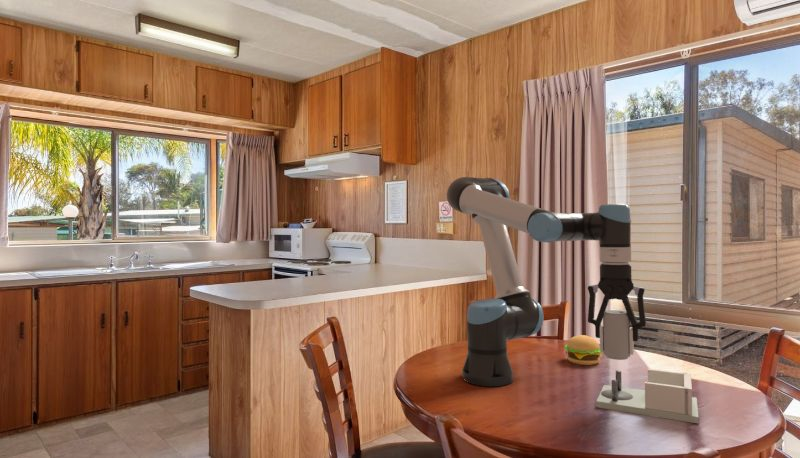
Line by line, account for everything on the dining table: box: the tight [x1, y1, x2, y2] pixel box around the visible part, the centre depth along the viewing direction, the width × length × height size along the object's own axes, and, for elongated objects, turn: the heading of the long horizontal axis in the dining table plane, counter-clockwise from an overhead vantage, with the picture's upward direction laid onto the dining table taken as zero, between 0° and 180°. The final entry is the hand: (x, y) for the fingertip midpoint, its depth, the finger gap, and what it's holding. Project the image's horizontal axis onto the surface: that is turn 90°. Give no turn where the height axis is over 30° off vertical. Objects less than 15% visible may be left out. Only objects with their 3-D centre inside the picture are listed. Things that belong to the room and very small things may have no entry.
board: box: [595, 384, 700, 425], centre depth 124 cm, size 22×14×2 cm, turn 60°
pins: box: [611, 370, 623, 401], centre depth 127 cm, size 1×10×5 cm, turn 150°
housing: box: [644, 368, 693, 415], centre depth 122 cm, size 10×14×6 cm
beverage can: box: [602, 309, 631, 361], centre depth 127 cm, size 6×6×12 cm
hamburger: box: [564, 334, 602, 366], centre depth 165 cm, size 12×12×9 cm
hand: (616, 351), depth 127 cm, fingers closed on beverage can, 6 cm apart
